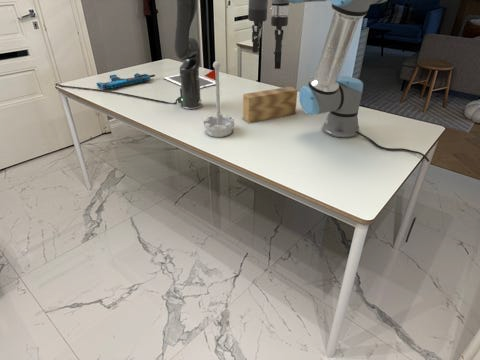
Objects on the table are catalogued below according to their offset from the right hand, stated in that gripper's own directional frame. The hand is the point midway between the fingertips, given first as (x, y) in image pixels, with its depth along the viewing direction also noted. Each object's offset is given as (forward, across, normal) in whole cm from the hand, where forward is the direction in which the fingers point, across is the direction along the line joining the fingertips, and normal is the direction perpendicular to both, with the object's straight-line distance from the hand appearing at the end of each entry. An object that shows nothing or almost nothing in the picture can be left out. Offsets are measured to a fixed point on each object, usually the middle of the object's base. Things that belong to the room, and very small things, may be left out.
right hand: (277, 65), depth 162 cm
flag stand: (+22, +31, -25) cm, 45 cm away
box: (+21, +11, -3) cm, 24 cm away
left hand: (-10, +16, -10) cm, 21 cm away
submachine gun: (+20, -36, -93) cm, 101 cm away
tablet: (+20, -41, -53) cm, 70 cm away
